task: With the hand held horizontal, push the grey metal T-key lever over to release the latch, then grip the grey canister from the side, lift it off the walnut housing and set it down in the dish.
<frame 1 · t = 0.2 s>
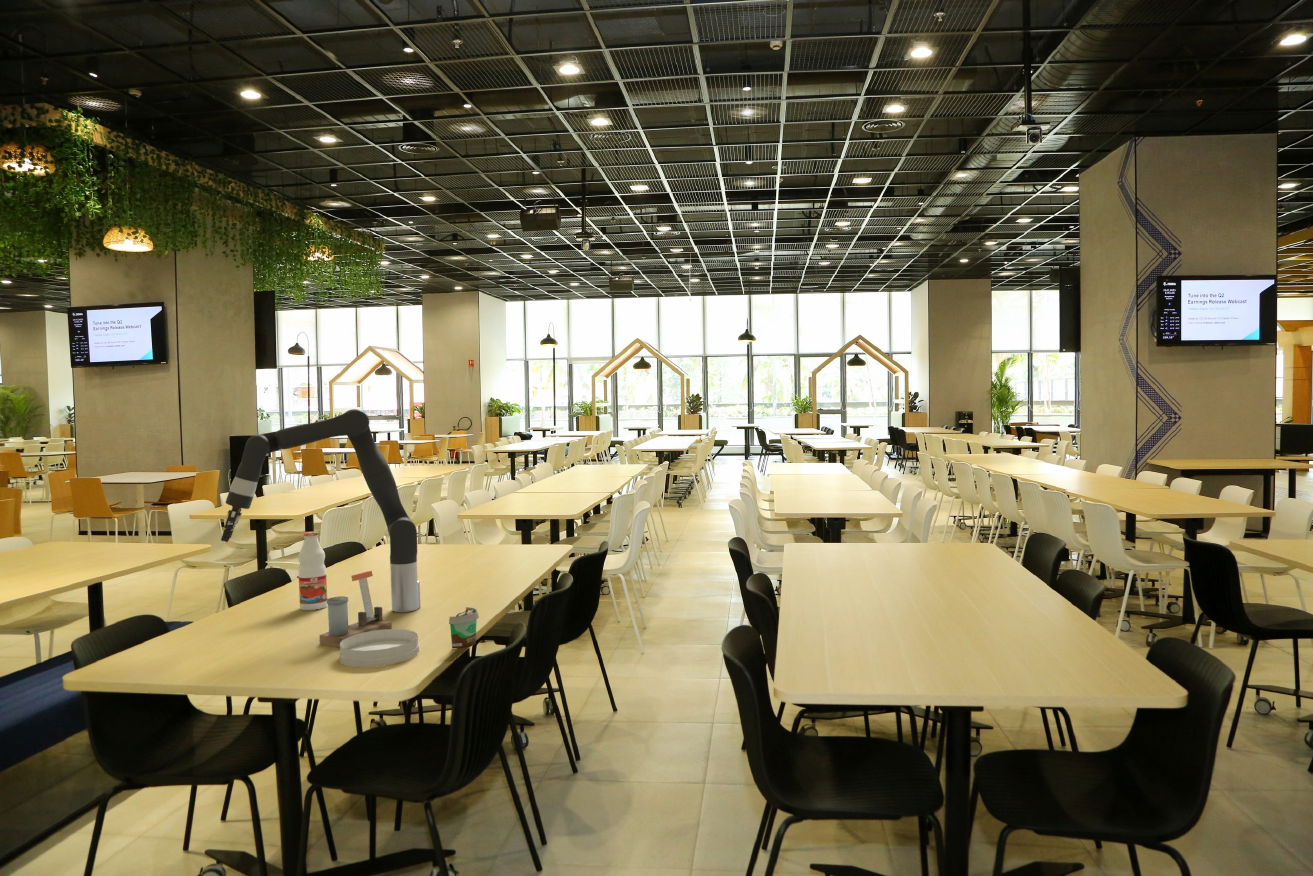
hand: (225, 539, 263), 31 cm above the table, tool tilted 20°, fingers open, 8 cm apart
housing: (371, 632, 258), on the table
grey canister: (338, 634, 246), point 3 cm above the table, touching housing
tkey: (366, 597, 258), point 11 cm above the table, hinge at -12.0°
food container: (468, 645, 242), on the table
dish: (380, 656, 234), on the table
fruit juice: (313, 608, 294), on the table
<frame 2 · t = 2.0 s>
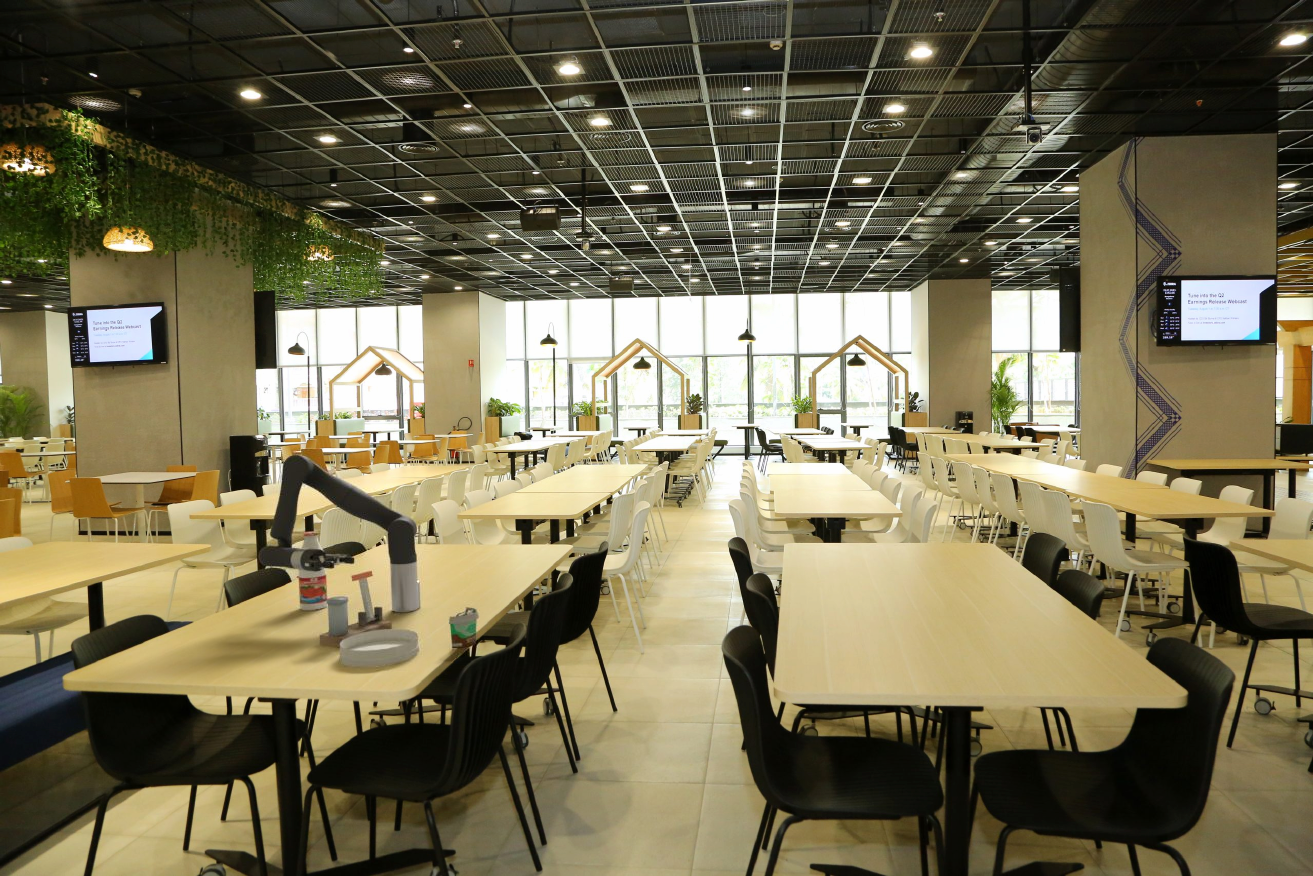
hand: (343, 562, 262), 22 cm above the table, tool horizontal, fingers open, 8 cm apart
nothing on the table moved.
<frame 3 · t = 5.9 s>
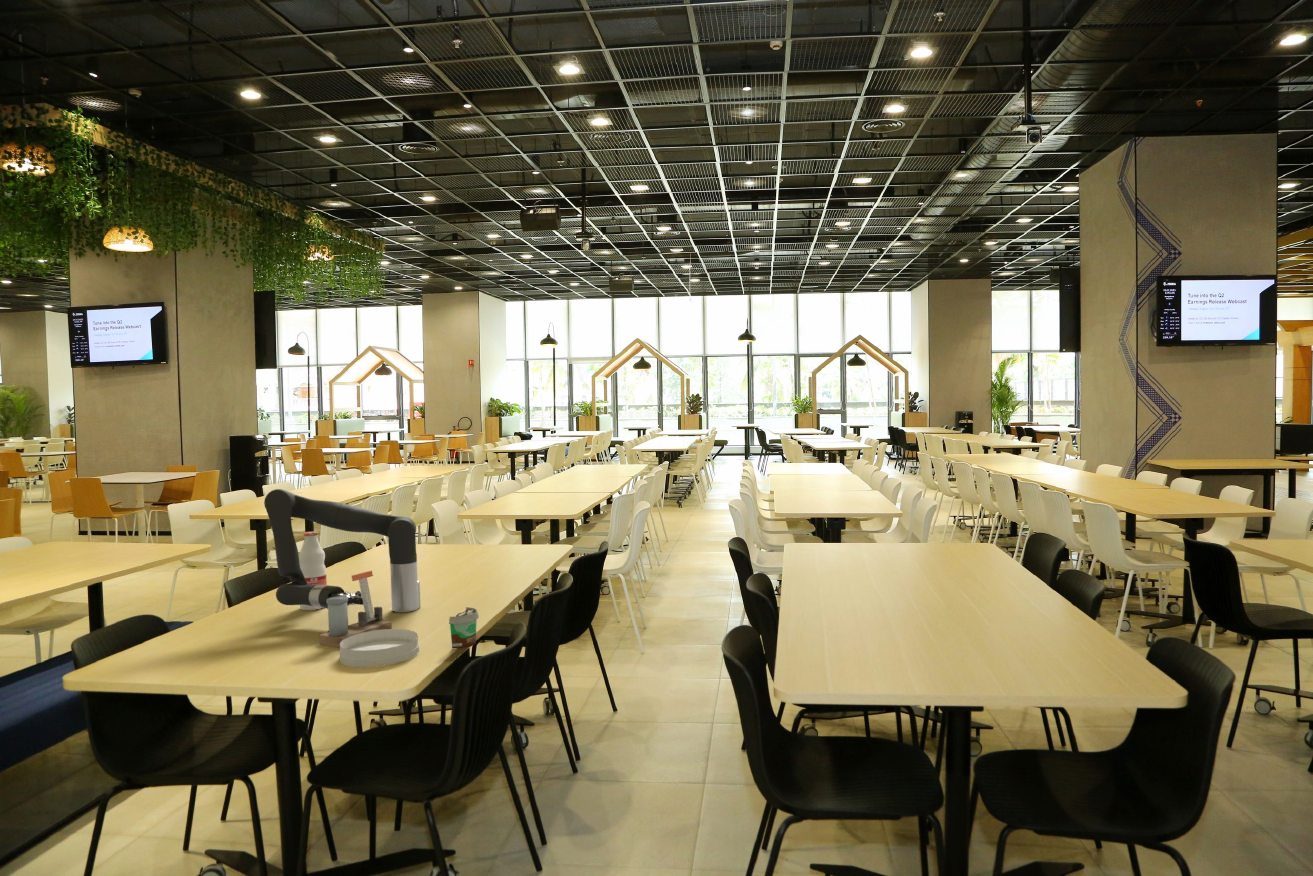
hand: (364, 601, 259), 10 cm above the table, tool horizontal, fingers closed
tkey: (366, 597, 258), point 11 cm above the table, hinge at -11.6°, touching gripper
everything else where it was.
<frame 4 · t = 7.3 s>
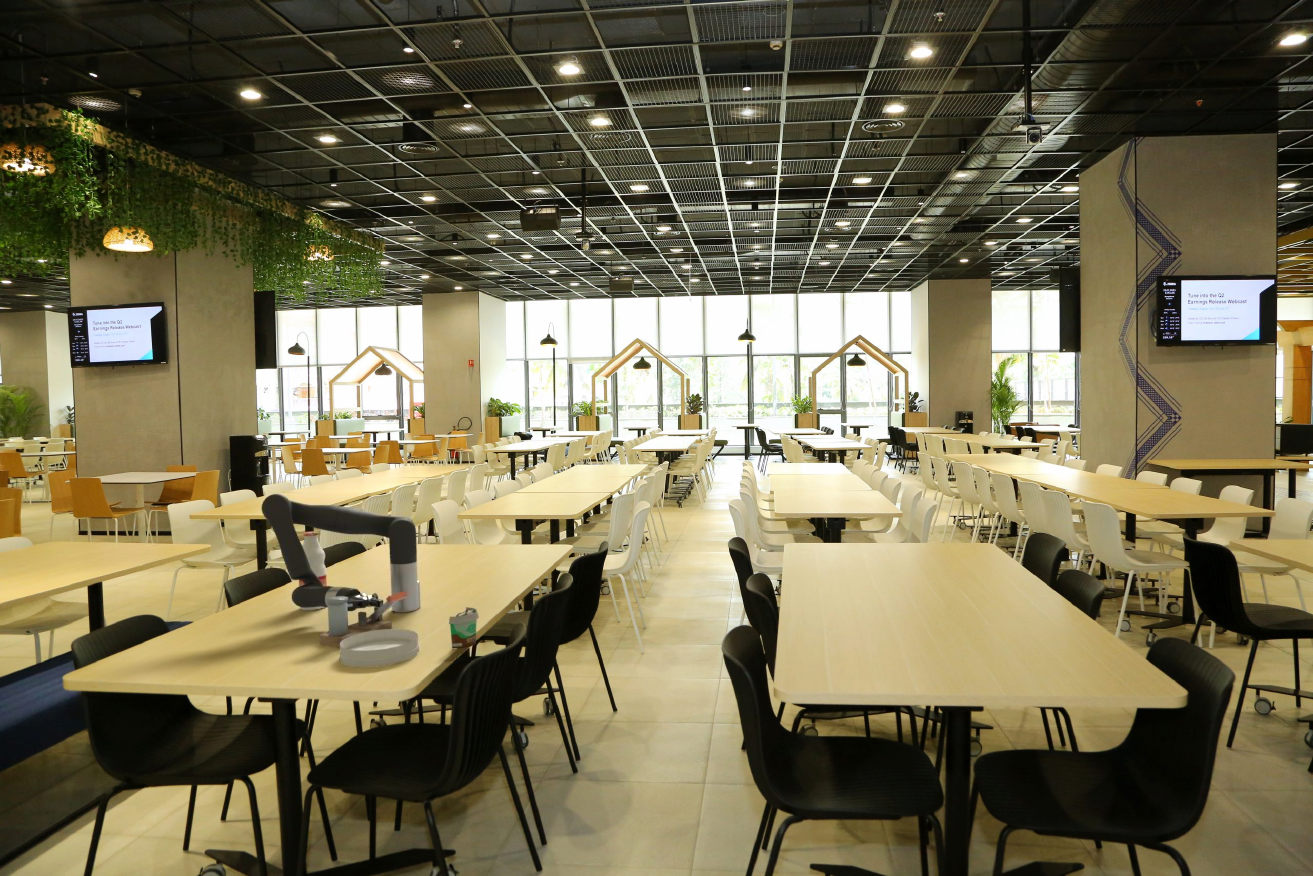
hand: (381, 603, 255), 10 cm above the table, tool horizontal, fingers closed
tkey: (383, 608, 255), point 8 cm above the table, hinge at 54.9°, touching gripper
everything else where it was.
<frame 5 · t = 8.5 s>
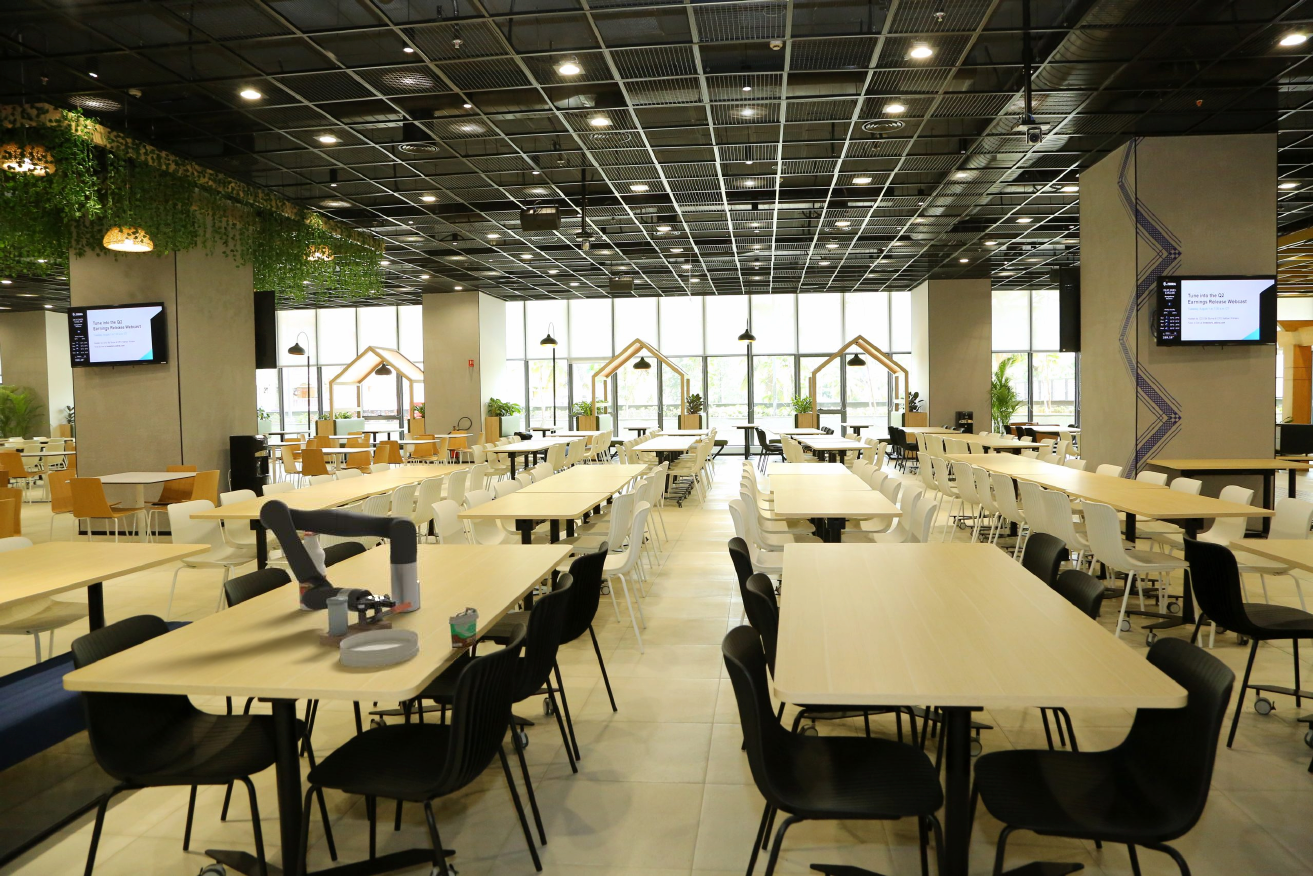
hand: (394, 604, 253), 10 cm above the table, tool horizontal, fingers closed
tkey: (385, 613, 255), point 7 cm above the table, hinge at 69.2°
everything else where it was.
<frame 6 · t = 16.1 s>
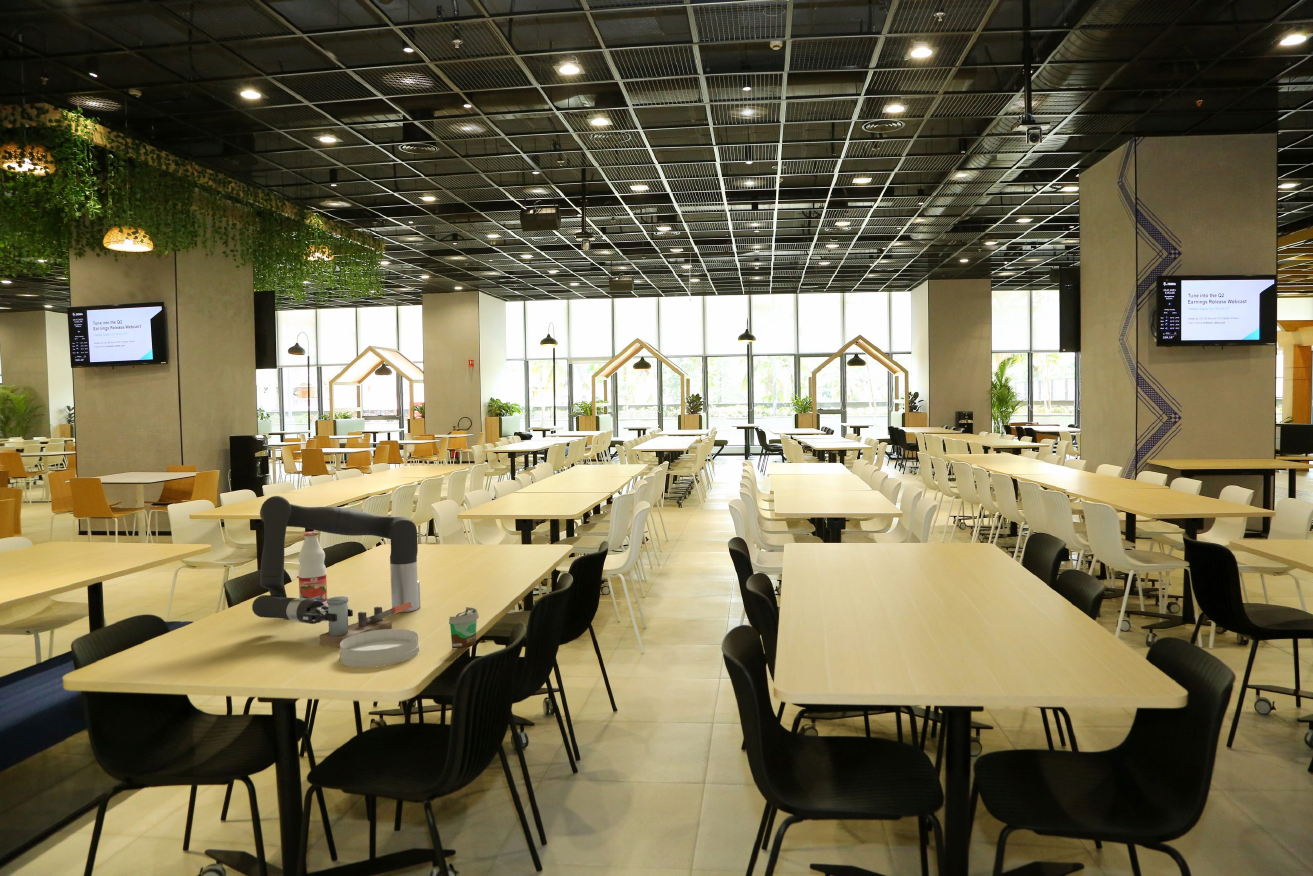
hand: (343, 615, 245), 9 cm above the table, tool horizontal, fingers closed on grey canister, 5 cm apart
grey canister: (338, 633, 246), point 3 cm above the table, touching gripper, housing
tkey: (385, 614, 255), point 7 cm above the table, hinge at 69.7°
everything else where it was.
when the fingers open (11 cm above the table, at t = 21.5 s): grey canister stays where it is, resting on dish.
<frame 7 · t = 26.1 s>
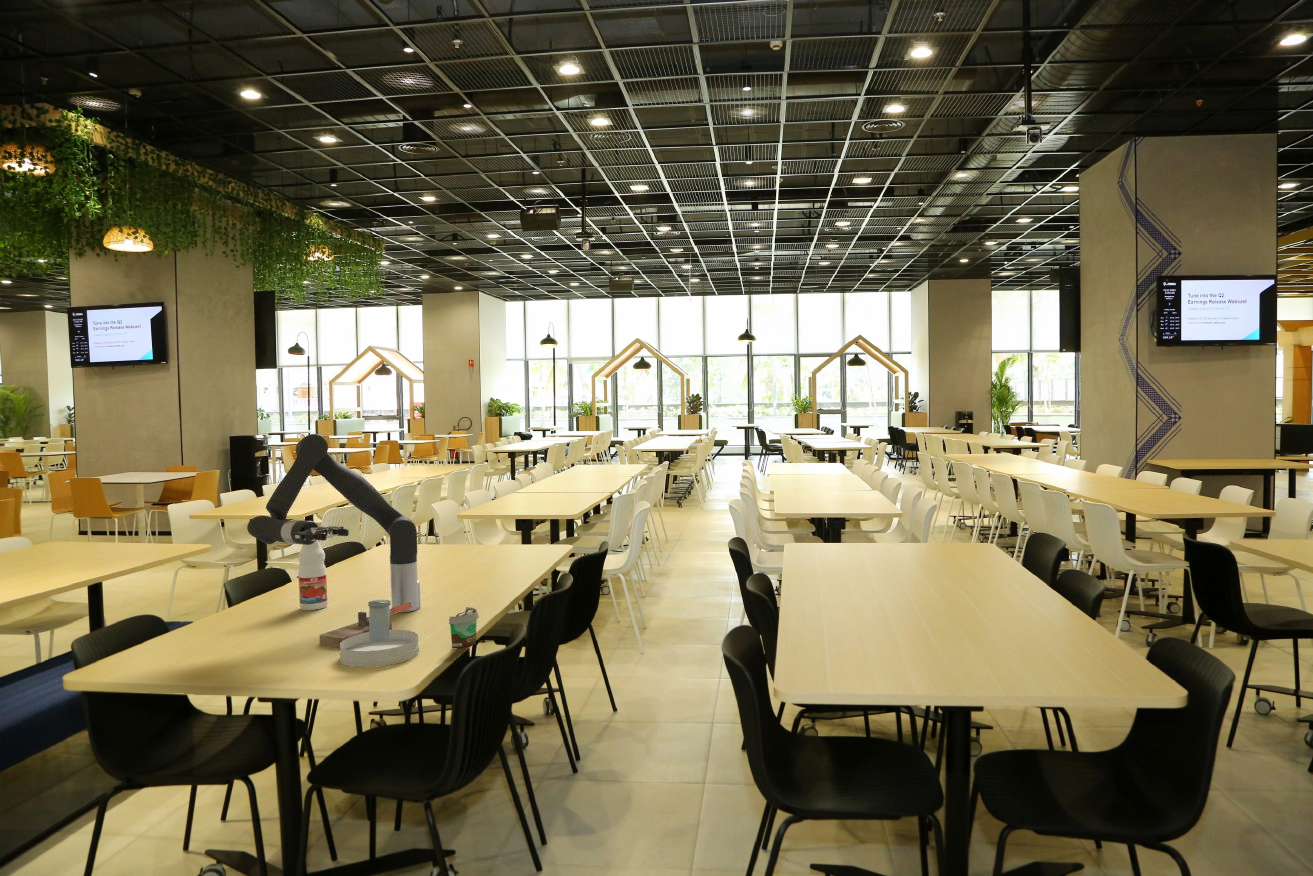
hand: (336, 534, 245), 34 cm above the table, tool horizontal, fingers open, 8 cm apart
grey canister: (379, 639, 234), point 5 cm above the table, touching dish
dish: (380, 657, 234), on the table, touching grey canister
everything else where it was.
at the end: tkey at +70° (first picture: -12°); grey canister 0.1 cm from the dish (horizontally); the gripper is holding nothing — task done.
